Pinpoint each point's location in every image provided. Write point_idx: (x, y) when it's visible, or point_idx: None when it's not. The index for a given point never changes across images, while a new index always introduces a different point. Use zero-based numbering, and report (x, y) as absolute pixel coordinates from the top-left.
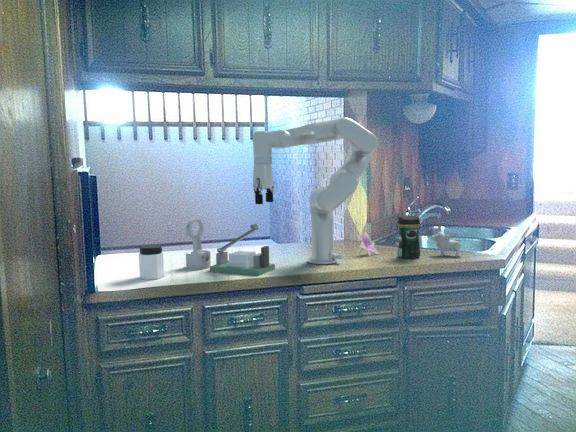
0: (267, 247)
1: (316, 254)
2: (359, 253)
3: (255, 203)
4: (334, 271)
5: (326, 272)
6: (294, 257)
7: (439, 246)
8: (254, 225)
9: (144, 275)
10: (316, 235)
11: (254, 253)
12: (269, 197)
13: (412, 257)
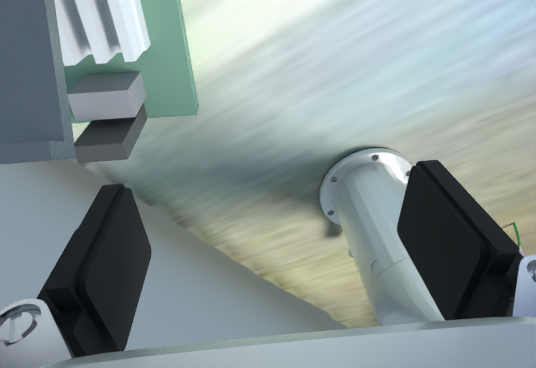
0: (112, 158)
1: (339, 204)
2: (513, 224)
3: (102, 187)
4: (247, 256)
5: (226, 247)
6: (434, 68)
7: None
8: (21, 162)
9: None
10: (359, 255)
11: (126, 58)
12: (427, 243)
13: None
